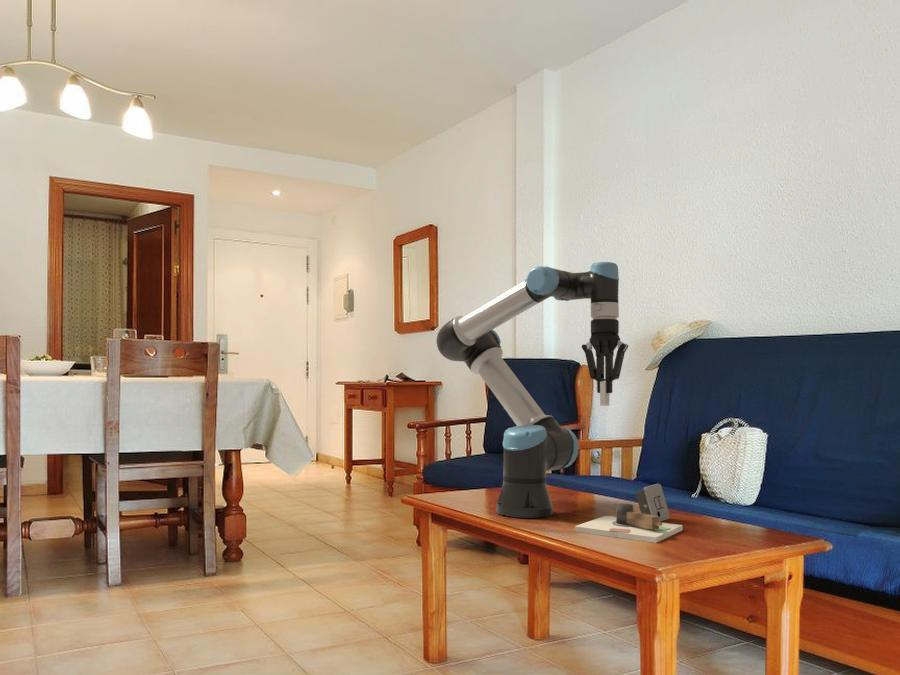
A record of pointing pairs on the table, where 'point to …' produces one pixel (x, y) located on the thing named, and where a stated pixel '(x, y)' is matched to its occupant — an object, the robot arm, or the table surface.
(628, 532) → the tuner plate
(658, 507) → the electrical switch
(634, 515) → the peg
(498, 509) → the robot arm
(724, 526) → the table surface
